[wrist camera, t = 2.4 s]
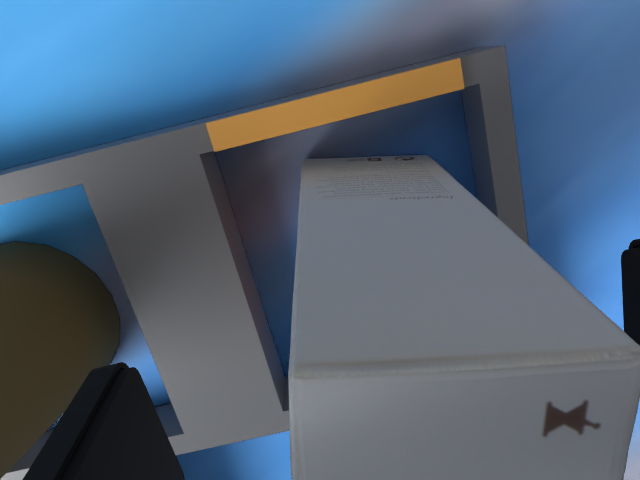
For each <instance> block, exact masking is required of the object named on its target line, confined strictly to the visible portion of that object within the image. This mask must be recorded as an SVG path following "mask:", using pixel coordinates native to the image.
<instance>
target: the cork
mask: <svg viewBox="0 0 640 480" xmlns="http://www.w3.org/2000/svg"><path fill="white" fill-rule="evenodd" d="M119 342H120V318H119V315H118V312H117V309H116V306H115V303H114V300H113V298H112V295H111V294H110V292H109V291H108V290H107V288H106V287H105V286H104V284H103V283H102V282H101V280H100V279H99V277H98V276H97V275H96V273H94V272H93V271H92V270H90V269H89V268H88V267H86V266H85V265H84V264H82V263H81V262H80V261H79V260H77V259H76V258H75V257H73V256H72V255H69V254H67V253H64V252H62V251H59V250H57V249H54V248H52V247H49V246H47V245H44V244H35V243H26V242H18V241H15V242H10V243H4V244H0V479H1V478H2V477H3V476H4V475H5V474H6V473H7V472H8V471H9V470H10V469H11V468H12V467H13V466H14V464H15V463H16V462H17V461H18V460H19V459H20V458H21V457H22V456H23V455H24V454H25V453H26V452H27V451H28V450H29V449H30V448H31V447H32V446H33V444H34V443H35V442H36V441H37V440H38V439H39V438H40V437H41V436H42V435H43V434H44V433H45V432H46V431H47V430H48V429H49V428H50V427H51V425H52V424H53V423H54V422H55V421H56V420H57V419H58V418H59V417H60V416H61V415H62V414H63V413H64V412H65V411H66V409H67V408H68V406H69V404H70V403H71V401H72V400H73V398H74V396H75V395H76V393H77V392H78V390H79V388H80V387H81V385H82V384H83V382H84V380H85V379H86V377H87V376H88V374H89V373H90V371H91V370H92V369H96V368H100V367H104V366H108V365H109V364H110V363H111V362H112V359H113V357H114V355H115V352H116V350H117V347H118V345H119Z"/></svg>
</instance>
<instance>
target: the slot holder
mask: <svg viewBox="0 0 640 480" xmlns="http://www.w3.org/2000/svg"><path fill="white" fill-rule="evenodd" d="M458 90H461V94H462V100H463V107H464V114H465V120H466V127H467V134H468V140H469V147H470V154H471V160H472V167H473V174H474V180H475V187H476V194H477V199H478V200H479V201H480V202H481V203H482V204H483V205H484V206H486V207H487V208H488V209H489V210H490V211H491V212H492V213H493V214H494V215H495V216H496V217H498V218H499V219H500V220H501V221H502V222H503V223H504V224H505V225H506V226H508V227H509V228H510V229H511V230H512V231H513V232H514V233H515V234H516V235H517V236H518V237H519V238H521V239H522V240H523V241H524V242H525V243H526V244H527V245H528V246H529V243H528V235H527V227H526V218H525V210H524V201H523V193H522V185H521V176H520V168H519V159H518V151H517V143H516V134H515V126H514V117H513V109H512V101H511V92H510V84H509V76H508V67H507V59H506V50H505V46H486V47H478V48H474V49H470V50H467V51H463V52H459V53H455V54H451V55H447V56H443V57H439V58H436V59H432V60H428V61H424V62H420V63H416V64H412V65H408V66H404V67H401V68H397V69H393V70H389V71H385V72H381V73H377V74H373V75H369V76H366V77H362V78H358V79H354V80H350V81H346V82H342V83H338V84H335V85H331V86H327V87H323V88H319V89H315V90H311V91H307V92H303V93H300V94H296V95H292V96H288V97H284V98H280V99H276V100H272V101H269V102H265V103H261V104H257V105H253V106H249V107H245V108H241V109H237V110H234V111H230V112H226V113H222V114H218V115H214V116H210V117H206V118H202V119H199V120H195V121H191V122H187V123H183V124H179V125H175V126H171V127H168V128H164V129H160V130H156V131H152V132H148V133H144V134H140V135H136V136H133V137H129V138H125V139H121V140H117V141H113V142H109V143H105V144H101V145H98V146H94V147H90V148H86V149H82V150H78V151H74V152H70V153H67V154H63V155H59V156H55V157H51V158H47V159H43V160H39V161H35V162H32V163H28V164H24V165H20V166H16V167H12V168H8V169H4V170H0V205H2V204H6V203H10V202H14V201H18V200H22V199H26V198H30V197H34V196H38V195H41V194H45V193H49V192H53V191H57V190H61V189H65V188H69V187H73V186H77V185H81V184H82V186H83V188H84V190H85V193H86V195H87V198H88V200H89V203H90V205H91V208H92V210H93V212H94V215H95V217H96V220H97V222H98V225H99V227H100V230H101V232H102V234H103V237H104V239H105V242H106V244H107V247H108V249H109V252H110V254H111V256H112V259H113V261H114V264H115V266H116V269H117V271H118V274H119V276H120V278H121V281H122V283H123V286H124V288H125V291H126V293H127V296H128V298H129V300H130V303H131V305H132V308H133V310H134V313H135V315H136V318H137V320H138V322H139V325H140V327H141V330H142V332H143V335H144V337H145V340H146V342H147V344H148V347H149V349H150V352H151V354H152V357H153V359H154V362H155V364H156V366H157V369H158V371H159V374H160V376H161V379H162V381H163V384H164V386H165V388H166V391H167V393H168V396H169V398H170V401H171V403H170V404H166V405H161V406H157V407H155V409H156V412H157V414H158V416H159V419H160V421H161V423H162V425H163V428H164V430H165V432H166V434H167V437H168V439H169V441H170V444H171V446H172V448H173V450H174V453H175V455H180V454H185V453H189V452H194V451H198V450H203V449H208V448H212V447H217V446H221V445H226V444H230V443H235V442H239V441H244V440H248V439H253V438H258V437H262V436H267V435H271V434H276V433H280V432H285V431H289V430H290V423H289V381H288V377H285V375H284V372H283V369H282V366H281V363H280V360H279V356H278V353H277V350H276V347H275V344H274V341H273V337H272V334H271V331H270V328H269V325H268V321H267V318H266V315H265V312H264V309H263V306H262V302H261V299H260V296H259V293H258V290H257V287H256V283H255V280H254V277H253V274H252V271H251V268H250V264H249V261H248V258H247V255H246V252H245V249H244V245H243V242H242V239H241V236H240V233H239V229H238V226H237V223H236V220H235V217H234V214H233V210H232V207H231V204H230V201H229V198H228V195H227V191H226V188H225V185H224V182H223V179H222V176H221V172H220V169H219V166H218V163H217V160H216V157H215V153H214V152H217V151H221V150H225V149H229V148H233V147H236V146H240V145H244V144H248V143H252V142H256V141H260V140H264V139H268V138H272V137H276V136H280V135H284V134H288V133H292V132H296V131H300V130H304V129H308V128H311V127H315V126H319V125H323V124H327V123H331V122H335V121H339V120H343V119H347V118H351V117H355V116H359V115H363V114H367V113H371V112H375V111H379V110H383V109H387V108H390V107H394V106H398V105H402V104H406V103H410V102H414V101H418V100H422V99H426V98H430V97H434V96H438V95H442V94H446V93H450V92H454V91H458ZM52 432H53V430H51V431H46V432H45V433H44V434H43V435H42V436H41V437H40V438H39V439H38V440H37V441H36V442H35V443H34V444H33V446H32V447H31V448H30V449H29V450H28V451H27V452H26V453H25V454H24V455H23V456H22V457H21V458H20V459H19V460H18V461H17V462H16V463H15V464H14V466H13V467H12V468H11V469H10V470H9V471H8V472H7V473H6V474H5V475H4V476H3V477H2V478H1V479H0V480H23V478H24V476H25V475H26V473H27V472H28V470H29V468H30V467H31V465H32V464H33V462H34V460H35V459H36V457H37V456H38V454H39V452H40V451H41V449H42V448H43V446H44V444H45V443H46V441H47V440H48V438H49V436H50V435H51V433H52Z"/></svg>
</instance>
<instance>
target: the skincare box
mask: <svg viewBox="0 0 640 480" xmlns="http://www.w3.org/2000/svg"><path fill="white" fill-rule="evenodd" d="M288 381H289V423H290V459H291V476H292V480H623V478H624V473H625V468H626V462H627V456H628V450H629V445H630V441H631V436H632V432H633V427H634V423H635V418H636V414H637V409H638V404H639V399H640V346H639V345H638V344H637V343H636V342H635V341H634V340H633V339H631V338H630V337H629V336H628V335H627V334H626V333H625V332H624V331H623V330H622V329H621V328H620V327H619V326H617V325H616V324H615V323H614V322H613V321H612V320H611V319H610V318H609V317H607V316H606V315H605V314H604V313H603V312H602V311H601V310H600V309H598V308H597V307H596V306H595V305H594V304H593V303H592V302H590V301H589V300H588V299H587V298H586V297H585V296H584V295H583V294H581V293H580V292H579V291H578V290H577V289H576V288H575V287H574V286H573V285H571V284H570V283H569V282H568V281H567V280H566V279H565V278H564V277H563V276H561V275H560V274H559V273H558V272H557V271H556V270H555V269H554V268H552V267H551V266H550V265H549V264H548V263H547V262H546V261H545V260H544V259H543V258H542V257H541V256H540V255H539V254H537V253H536V252H535V251H534V250H533V249H532V248H531V247H529V246H528V245H527V244H526V243H525V242H524V241H523V240H522V239H521V238H519V237H518V236H517V235H516V234H515V233H514V232H513V231H512V230H511V229H510V228H509V227H508V226H506V225H505V224H504V223H503V222H502V221H501V220H500V219H499V218H498V217H496V216H495V215H494V214H493V213H492V212H491V211H490V210H489V209H488V208H487V207H486V206H484V205H483V204H482V203H481V202H480V201H479V200H478V199H476V198H475V197H474V196H473V195H472V194H471V193H470V192H469V191H468V190H467V189H465V188H464V187H463V186H462V185H461V184H460V183H459V182H457V181H456V180H455V179H454V178H453V177H452V176H451V175H450V174H449V173H448V172H447V171H446V170H444V169H443V168H442V167H441V166H440V165H439V164H438V163H437V162H435V161H434V160H433V159H432V158H431V157H430V156H429V155H408V156H372V157H352V158H323V159H304V160H303V161H302V164H301V183H300V199H299V211H298V230H297V247H296V263H295V278H294V291H293V305H292V322H291V345H290V359H289V371H288Z"/></svg>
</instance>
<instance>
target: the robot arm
mask: <svg viewBox="0 0 640 480" xmlns="http://www.w3.org/2000/svg"><path fill="white" fill-rule="evenodd" d="M621 268H622V292H623V316H624V332H625V333H626V334H627V335H628V336H629V337H630V338H631V339H633V340H634V341H635V342H636V343H637V344H638V345H639V346H640V239H637V240H633V241H632V242H631V243H630V245H629V249H628V250H625V251H624V252H623V253H622V256H621ZM23 480H185V479H184V474H183V471H182V469H181V466H180V464H179V462H178V460H177V457H176V455H175V453H174V450H173V448H172V446H171V444H170V441H169V439H168V437H167V434H166V432H165V430H164V428H163V425H162V423H161V421H160V419H159V416H158V414H157V412H156V409H155V407H154V405H153V403H152V400H151V398H150V396H149V393H148V391H147V389H146V387H145V384H144V382H143V380H142V378H141V375H140V373H139V371H138V370H137V369H136V368H134V367H132V368H129V367H128V366H127V365H126V364H125V363H123V362H121V363H117V364H113V365H108V366H104V367H100V368H96V369H92V370H91V371H90V373H89V374H88V376H87V377H86V379H85V380H84V382H83V384H82V385H81V387H80V388H79V390H78V392H77V393H76V395H75V396H74V398H73V400H72V401H71V403H70V404H69V406H68V408H67V409H66V411H65V412H64V414H63V416H62V417H61V419H60V420H59V422H58V424H57V425H56V427H55V428H54V430H53V432H52V433H51V435H50V436H49V438H48V440H47V441H46V443H45V444H44V446H43V448H42V449H41V451H40V452H39V454H38V456H37V457H36V459H35V460H34V462H33V464H32V465H31V467H30V468H29V470H28V472H27V473H26V475H25V476H24V478H23Z"/></svg>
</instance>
